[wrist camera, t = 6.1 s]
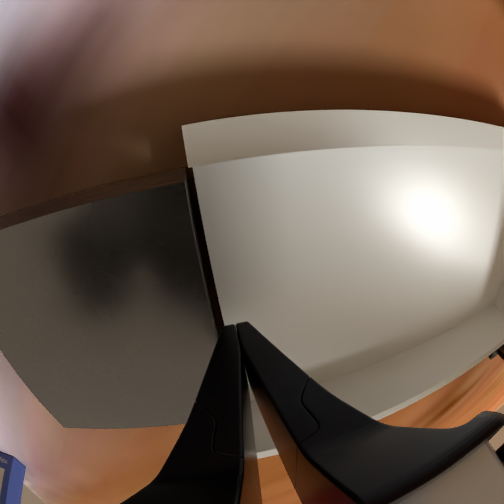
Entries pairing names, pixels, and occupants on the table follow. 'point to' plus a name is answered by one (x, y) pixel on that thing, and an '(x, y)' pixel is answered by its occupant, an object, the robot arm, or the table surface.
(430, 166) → the tray
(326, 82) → the table surface
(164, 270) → the cover plate
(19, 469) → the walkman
